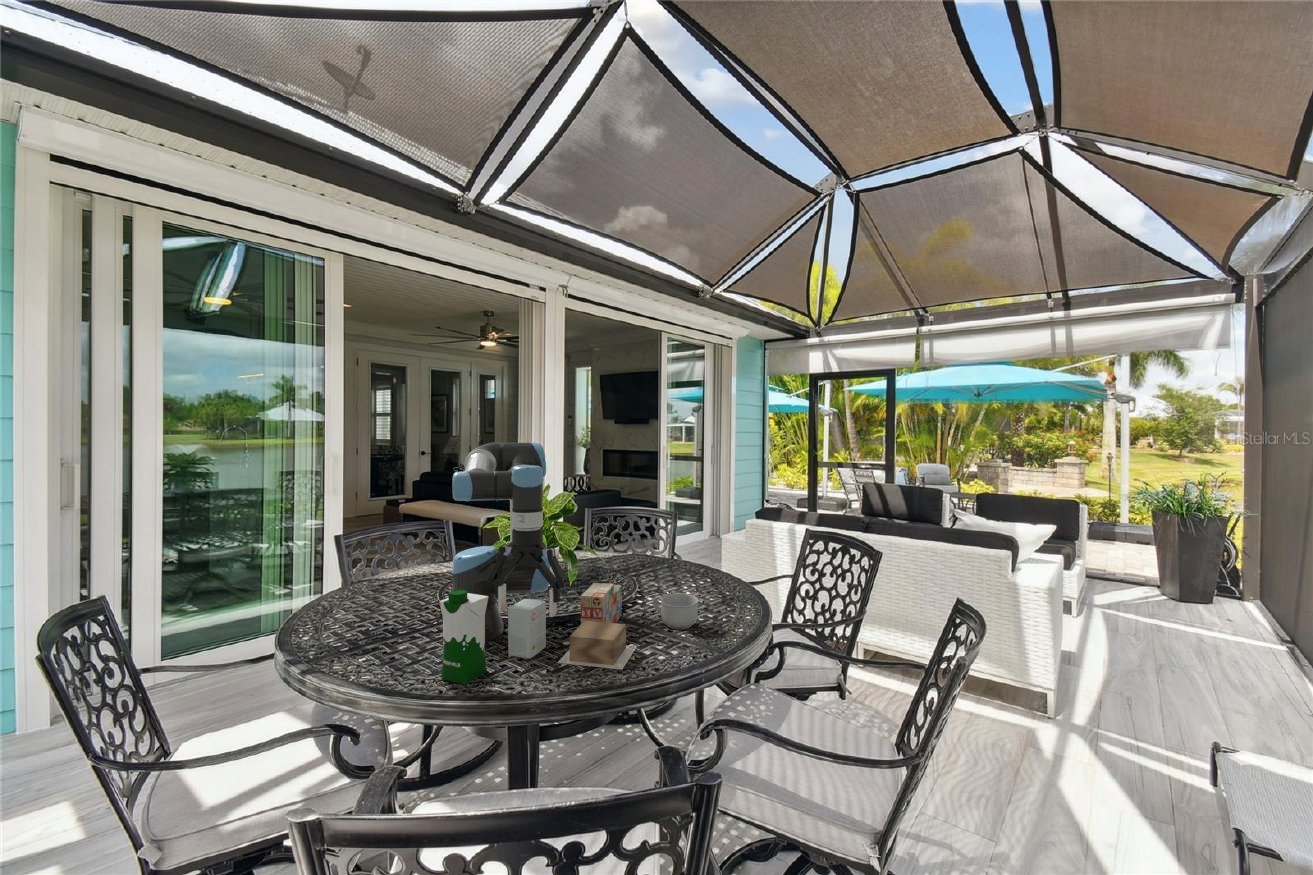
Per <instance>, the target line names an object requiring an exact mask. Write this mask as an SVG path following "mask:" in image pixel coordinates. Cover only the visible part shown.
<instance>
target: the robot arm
mask: <svg viewBox="0 0 1313 875" xmlns="http://www.w3.org/2000/svg"><path fill="white" fill-rule="evenodd" d="M464 459H465V460H464V470H463V471H455V472H454V473H453V475H452V485H451V486H452V499H453V500H454V501H459V502H460V501H461V502H462V501H465V502H470V501H472V502H473V501H508V500H509V511H510V512H509V516H510V517H509V518H510V519H509V520H510V521H509V522H510V524H509V525H510V529H509V531H510V534H509V535H510V541H509V542H508V543H507V544H505V545H503V546H501V547H500V548H499V551H498V549H497V547H496V546H495V545H494V546H493V545H483V546H475V547H472V548H468V549H464V550H462V551H459V552H458V553H457V554H456V555H454V556H453V558H452V568H451V574H452V591H453V590H467V593H471V594H477V595H483V596H489V597H488V602H487V607H486V612H485V643H486V642H490V641H493V640H495V639H497V638H499V637H500V636H502V635H503V634H504V621H503V617H502V615H501V613H503V612H504V611H505V612H506V610H507V595H520V594H521V595H522V594H535V593H542V592H546V591H547V590H548V588H549V586H550V587H551V589H549V617H551V618H553V617H554V616H556V615H557V611H558V610H557V604H558V603H559V602H560V601H561V589H562V588H565V587H566V586H567V585H568V580H567V578H566V576H565V574H564V571H563V569H562V567H561V565H560V562H559V560H558V558H557V554H556V548H554V547H550V548H547V545H546V543H545V542H544V530H543V528H542V527H543V526H544V512H543V510H544V508H543V507H544V506H543V504H544V503H543V502H544V501H543V499H544V478H545V477H546V475H547V462H546V453H545V449H544V446H543V445H542V444H541V443H540V442H532V441H526V442H499V441H498V442H497V441H496V442H489V443H488V442H487V443H485V444H483V445H480V446H478V447H476V448H474V449H472V450H471V451H470V452H469V453H468V454H467V455H466V457H465V458H464Z"/></svg>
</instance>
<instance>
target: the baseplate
mask: <svg viewBox="0 0 1313 875" xmlns="http://www.w3.org/2000/svg"><path fill="white" fill-rule="evenodd" d="M637 647H638V646H637V645H635V644H633V643H631V644H629V645H627V644H626V648H625V650H624V651H623V653H622V654H621V656H620V657H619V659H618V660H617V662H616V663H615V664H614V665H604V664H594V663H584V662H574V661H570V649H568V651H567V652H565V654H564V655H563V656H561V657H560V659H559V660H558V662H557V664H566V665H575V666H587V667H595V668H596V667H597V668H604V669H614V670H615V669H616V670H623V669H624V668H625V667H626V664H627V663H628V661H629V660H630V658H631V656H632V655H633V654H634V652H635V651H636V649H637Z"/></svg>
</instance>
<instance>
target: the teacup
mask: <svg viewBox="0 0 1313 875" xmlns="http://www.w3.org/2000/svg"><path fill="white" fill-rule="evenodd" d="M658 600H659V601H660V606H659V604H658ZM652 604H653V607H654V609H655V610H656V611H657V612H658V613H659V614H660V615H661V620H662V622H663V623H664V625H666V626H667V627H668V628H670V629H673V630H674V631H675V630H677V631H682V630H683V631H684V630H688V629H690V628H691V627H692V626H693V625H694V624H696V622H697V619H698V614H699V612H698V610H699V609H698V607H699V599H698V597H696V595H693V594H690V593H682V592H680V593H679V592H677V593H676V592H675V593H669V594H666V595H664V596H662V595H656V596H655V597H654V598H653V599H652Z"/></svg>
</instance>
